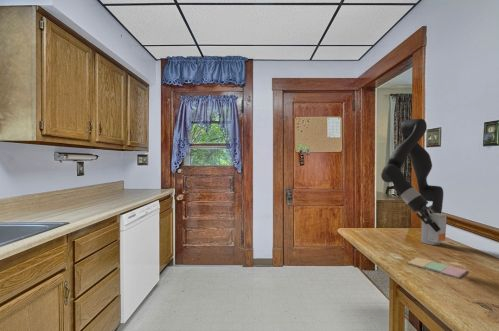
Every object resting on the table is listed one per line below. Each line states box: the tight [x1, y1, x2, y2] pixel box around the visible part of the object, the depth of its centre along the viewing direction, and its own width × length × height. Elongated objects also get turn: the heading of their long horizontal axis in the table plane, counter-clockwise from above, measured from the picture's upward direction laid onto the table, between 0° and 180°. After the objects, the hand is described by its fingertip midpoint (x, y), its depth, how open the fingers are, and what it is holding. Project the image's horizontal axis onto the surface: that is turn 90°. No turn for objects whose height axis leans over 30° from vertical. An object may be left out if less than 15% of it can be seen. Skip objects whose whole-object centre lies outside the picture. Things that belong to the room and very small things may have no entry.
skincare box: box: [428, 213, 448, 243], centre depth 126 cm, size 6×4×12 cm
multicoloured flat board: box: [406, 257, 469, 280], centre depth 126 cm, size 12×20×1 cm, turn 39°
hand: (441, 229), depth 124 cm, fingers closed on skincare box, 6 cm apart
